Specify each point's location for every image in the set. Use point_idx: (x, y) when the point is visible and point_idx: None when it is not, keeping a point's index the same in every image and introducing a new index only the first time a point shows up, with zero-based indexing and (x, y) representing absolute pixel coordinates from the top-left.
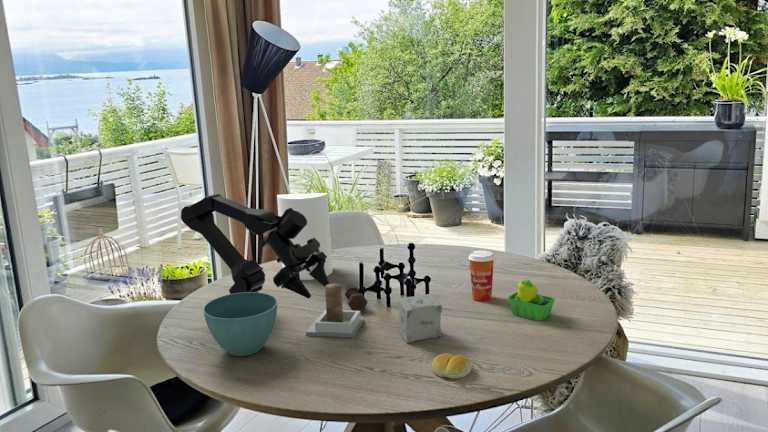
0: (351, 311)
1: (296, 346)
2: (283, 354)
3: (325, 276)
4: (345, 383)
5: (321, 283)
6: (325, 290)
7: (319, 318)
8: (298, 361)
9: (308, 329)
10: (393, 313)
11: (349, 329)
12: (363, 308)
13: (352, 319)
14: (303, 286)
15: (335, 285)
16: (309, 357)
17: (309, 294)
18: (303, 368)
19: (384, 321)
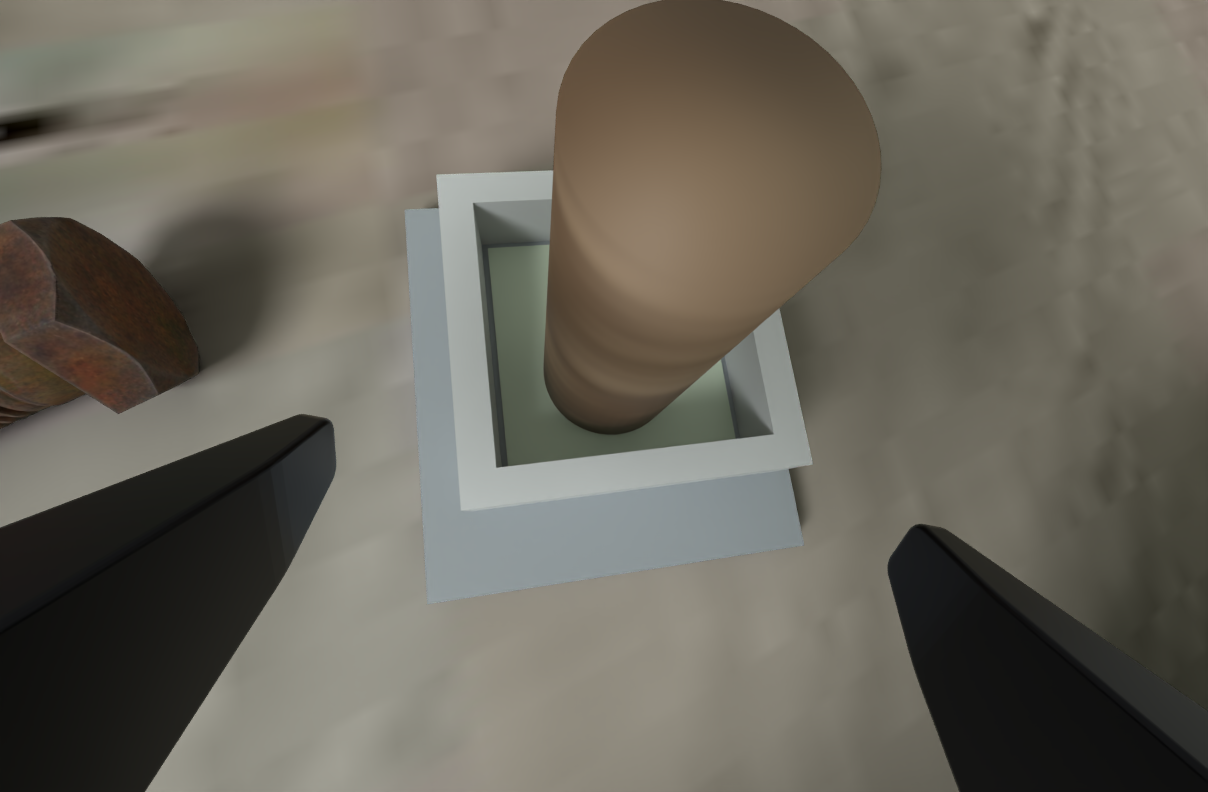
0: (468, 241)
1: (973, 521)
2: (1105, 547)
3: (87, 527)
4: (1205, 98)
5: (242, 627)
6: (798, 290)
7: (705, 467)
8: (1137, 404)
9: (753, 547)
10: (219, 63)
11: None
12: (153, 281)
13: None
14: (1198, 722)
15: (670, 105)
16: (1068, 364)
17: (966, 547)
18: (1188, 339)
19: (398, 90)
